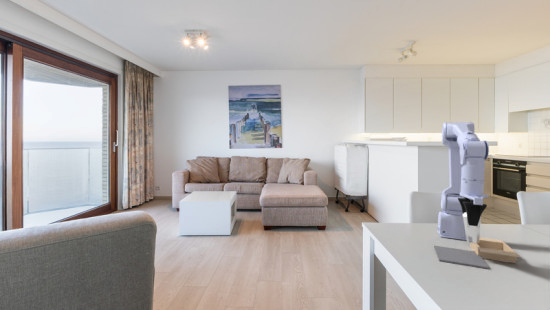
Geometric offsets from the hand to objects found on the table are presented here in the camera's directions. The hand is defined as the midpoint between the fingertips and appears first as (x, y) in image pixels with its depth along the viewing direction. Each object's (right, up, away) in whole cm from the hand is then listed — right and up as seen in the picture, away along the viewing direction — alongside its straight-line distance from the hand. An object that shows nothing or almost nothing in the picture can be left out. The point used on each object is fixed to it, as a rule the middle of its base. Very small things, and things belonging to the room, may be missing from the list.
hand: (470, 223), depth 82 cm
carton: (+8, -11, +2) cm, 13 cm away
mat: (-4, -10, 0) cm, 11 cm away
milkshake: (+1, -6, 0) cm, 6 cm away
